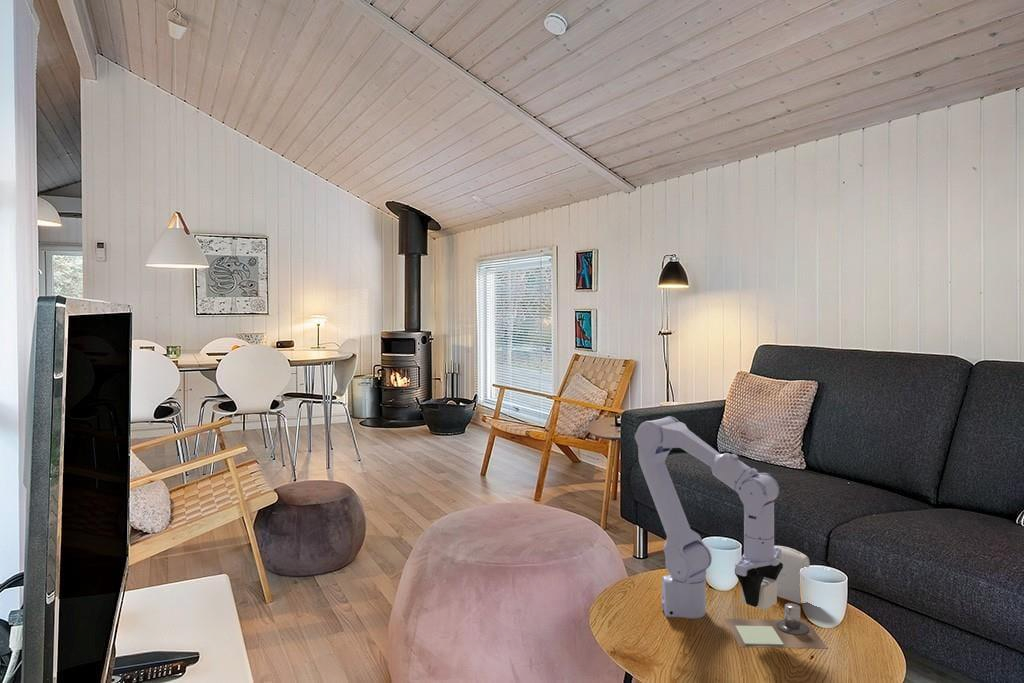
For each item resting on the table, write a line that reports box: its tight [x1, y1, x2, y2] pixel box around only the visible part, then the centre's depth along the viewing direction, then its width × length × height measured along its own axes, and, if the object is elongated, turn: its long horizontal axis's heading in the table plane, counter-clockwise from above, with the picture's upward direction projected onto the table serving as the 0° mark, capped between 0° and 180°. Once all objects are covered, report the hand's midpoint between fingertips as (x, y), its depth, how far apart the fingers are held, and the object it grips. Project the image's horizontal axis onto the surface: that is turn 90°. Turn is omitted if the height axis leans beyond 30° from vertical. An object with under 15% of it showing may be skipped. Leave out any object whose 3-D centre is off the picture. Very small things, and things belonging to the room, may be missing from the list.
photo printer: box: [774, 545, 811, 605], centre depth 156 cm, size 10×4×12 cm, turn 39°
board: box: [724, 618, 829, 650], centre depth 139 cm, size 17×12×1 cm
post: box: [776, 602, 809, 635], centre depth 141 cm, size 6×6×4 cm
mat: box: [735, 626, 784, 646], centre depth 137 cm, size 8×8×1 cm
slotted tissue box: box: [740, 577, 778, 611], centre depth 137 cm, size 5×5×5 cm
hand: (758, 600), depth 137 cm, fingers closed on slotted tissue box, 5 cm apart
